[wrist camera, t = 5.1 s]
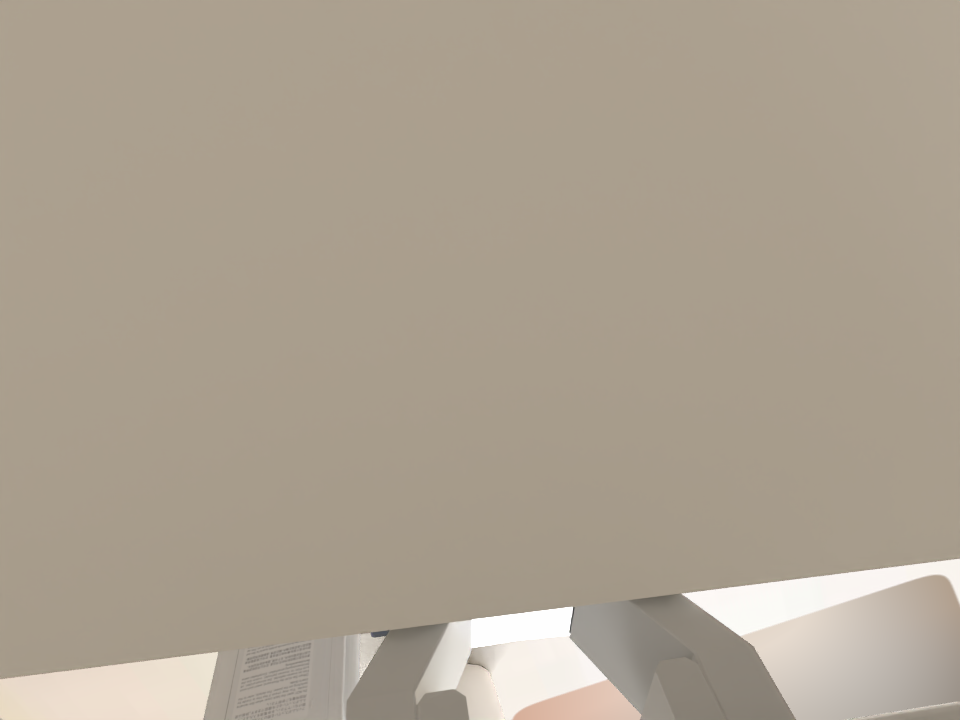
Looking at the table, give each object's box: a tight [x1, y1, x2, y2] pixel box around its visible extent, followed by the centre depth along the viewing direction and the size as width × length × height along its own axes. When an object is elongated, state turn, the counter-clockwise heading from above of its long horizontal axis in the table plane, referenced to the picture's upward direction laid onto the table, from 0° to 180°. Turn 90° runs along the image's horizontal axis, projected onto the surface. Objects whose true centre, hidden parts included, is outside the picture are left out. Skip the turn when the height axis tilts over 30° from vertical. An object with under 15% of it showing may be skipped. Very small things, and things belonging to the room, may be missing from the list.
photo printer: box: [203, 634, 360, 720], centre depth 42 cm, size 10×4×12 cm, turn 100°
